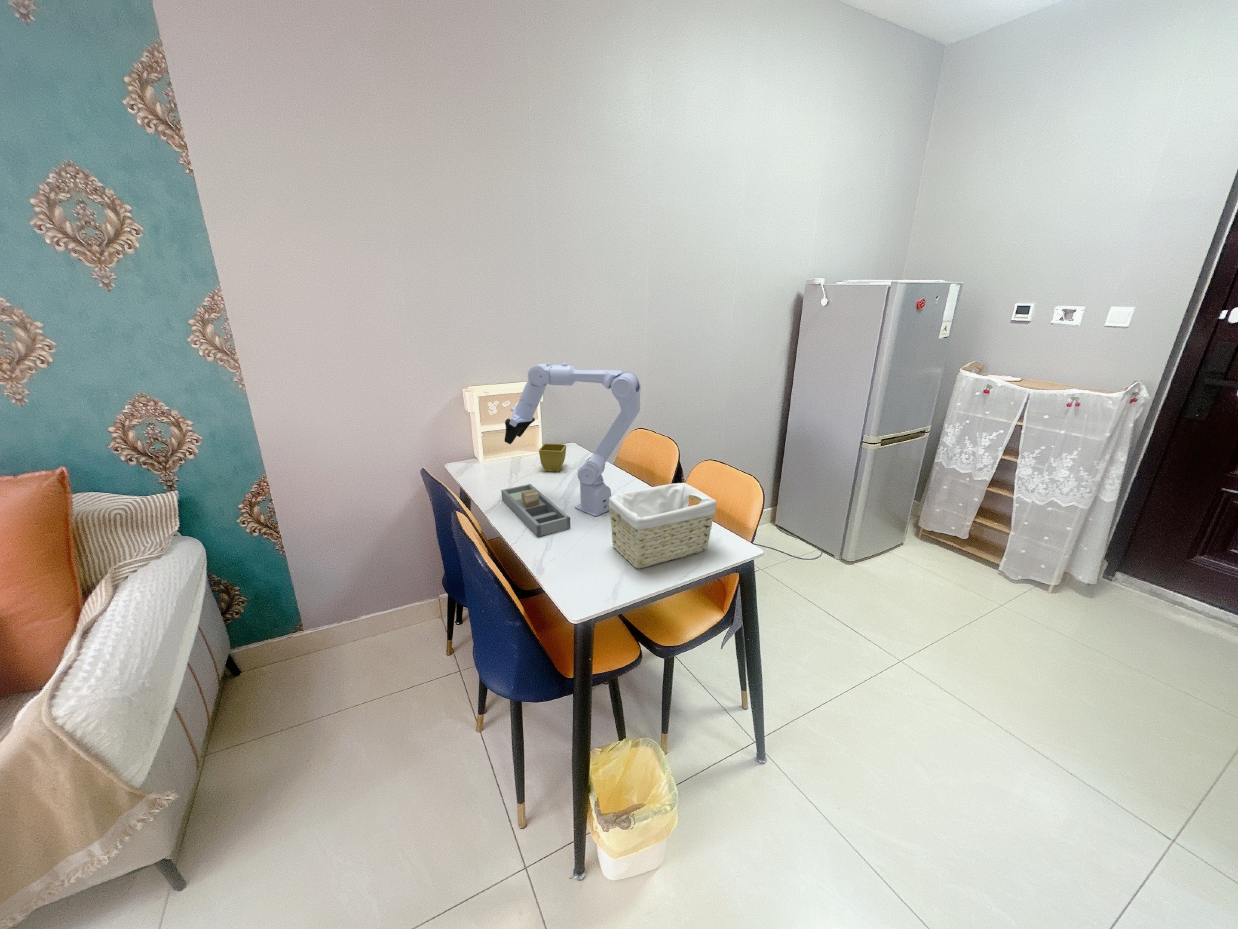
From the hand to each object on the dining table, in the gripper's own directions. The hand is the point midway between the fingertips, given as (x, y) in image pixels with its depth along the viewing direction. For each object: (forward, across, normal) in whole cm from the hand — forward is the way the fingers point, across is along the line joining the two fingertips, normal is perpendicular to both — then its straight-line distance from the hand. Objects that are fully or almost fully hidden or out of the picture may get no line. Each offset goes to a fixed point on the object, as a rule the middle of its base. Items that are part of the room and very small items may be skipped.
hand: (512, 438), depth 150 cm
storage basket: (-4, +22, +53) cm, 58 cm away
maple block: (+14, +6, +15) cm, 21 cm away
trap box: (+15, +8, +17) cm, 24 cm away
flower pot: (+18, -30, +12) cm, 37 cm away
